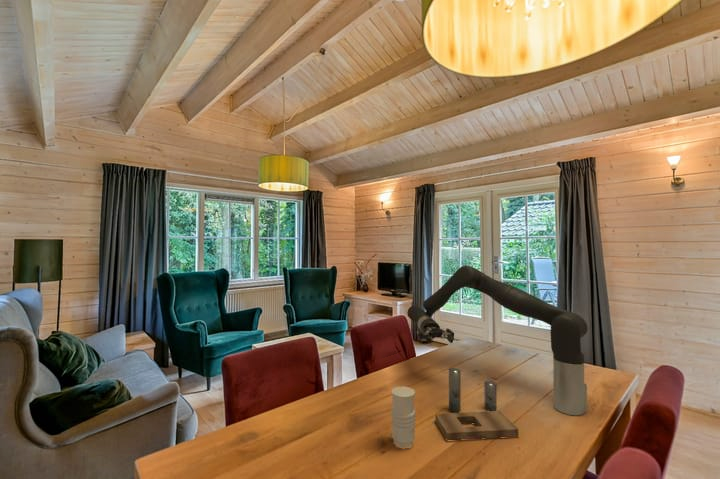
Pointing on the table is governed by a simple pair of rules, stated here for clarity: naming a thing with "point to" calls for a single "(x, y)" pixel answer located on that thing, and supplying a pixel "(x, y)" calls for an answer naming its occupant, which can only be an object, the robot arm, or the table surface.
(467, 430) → the hole plate
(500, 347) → the table surface
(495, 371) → the table surface
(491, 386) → the short pin
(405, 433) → the white ribbed cylinder
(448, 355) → the table surface
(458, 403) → the tall pin
